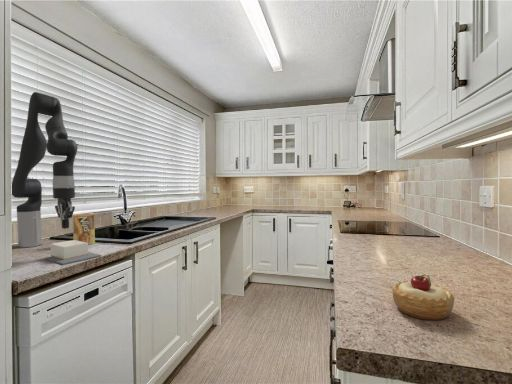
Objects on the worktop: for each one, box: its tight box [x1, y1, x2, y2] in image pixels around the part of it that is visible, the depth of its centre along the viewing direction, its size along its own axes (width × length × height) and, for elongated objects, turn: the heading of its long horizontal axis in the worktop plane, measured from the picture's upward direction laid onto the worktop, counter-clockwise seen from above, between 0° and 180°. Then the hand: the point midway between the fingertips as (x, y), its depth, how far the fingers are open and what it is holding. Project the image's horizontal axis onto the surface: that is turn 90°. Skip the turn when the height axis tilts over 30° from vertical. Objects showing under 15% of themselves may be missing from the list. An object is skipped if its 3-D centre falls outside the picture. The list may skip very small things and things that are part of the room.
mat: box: [44, 251, 102, 266], centre depth 115 cm, size 16×14×1 cm
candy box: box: [72, 212, 96, 246], centre depth 140 cm, size 9×4×15 cm, turn 129°
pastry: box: [391, 273, 455, 321], centre depth 63 cm, size 12×12×9 cm
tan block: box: [49, 240, 89, 260], centre depth 116 cm, size 5×9×12 cm
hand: (65, 228), depth 118 cm, fingers closed
